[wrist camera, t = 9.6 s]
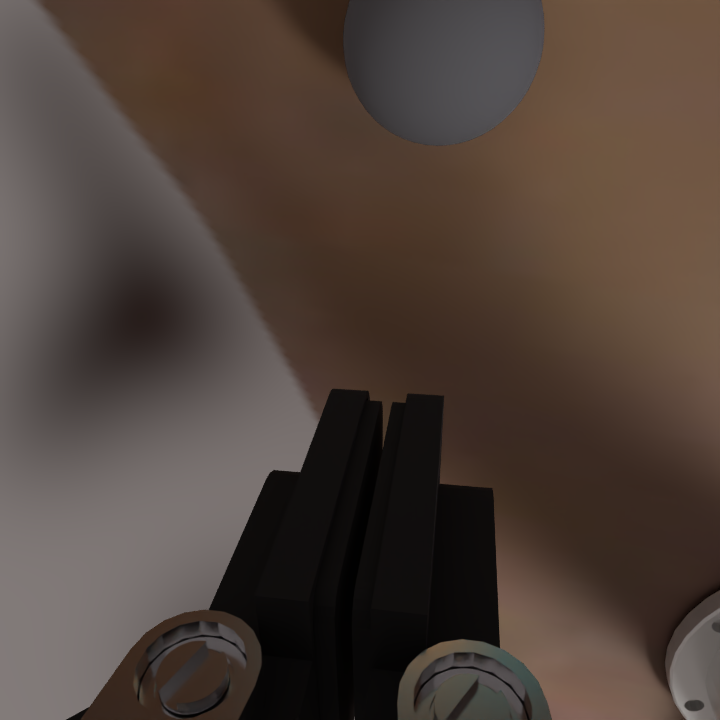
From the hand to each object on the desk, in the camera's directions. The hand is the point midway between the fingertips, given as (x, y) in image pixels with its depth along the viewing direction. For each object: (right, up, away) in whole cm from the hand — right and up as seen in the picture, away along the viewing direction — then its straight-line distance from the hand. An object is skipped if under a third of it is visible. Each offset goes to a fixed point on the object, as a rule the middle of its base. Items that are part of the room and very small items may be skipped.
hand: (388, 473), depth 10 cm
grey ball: (+2, +11, +8) cm, 14 cm away
